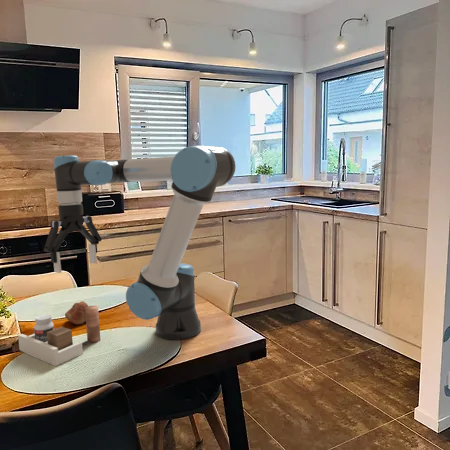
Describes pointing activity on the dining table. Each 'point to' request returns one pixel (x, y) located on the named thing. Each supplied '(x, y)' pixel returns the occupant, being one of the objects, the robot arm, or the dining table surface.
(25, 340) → the white open tray
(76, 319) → the fossil
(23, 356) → the dining table surface
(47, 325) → the pill bottle
